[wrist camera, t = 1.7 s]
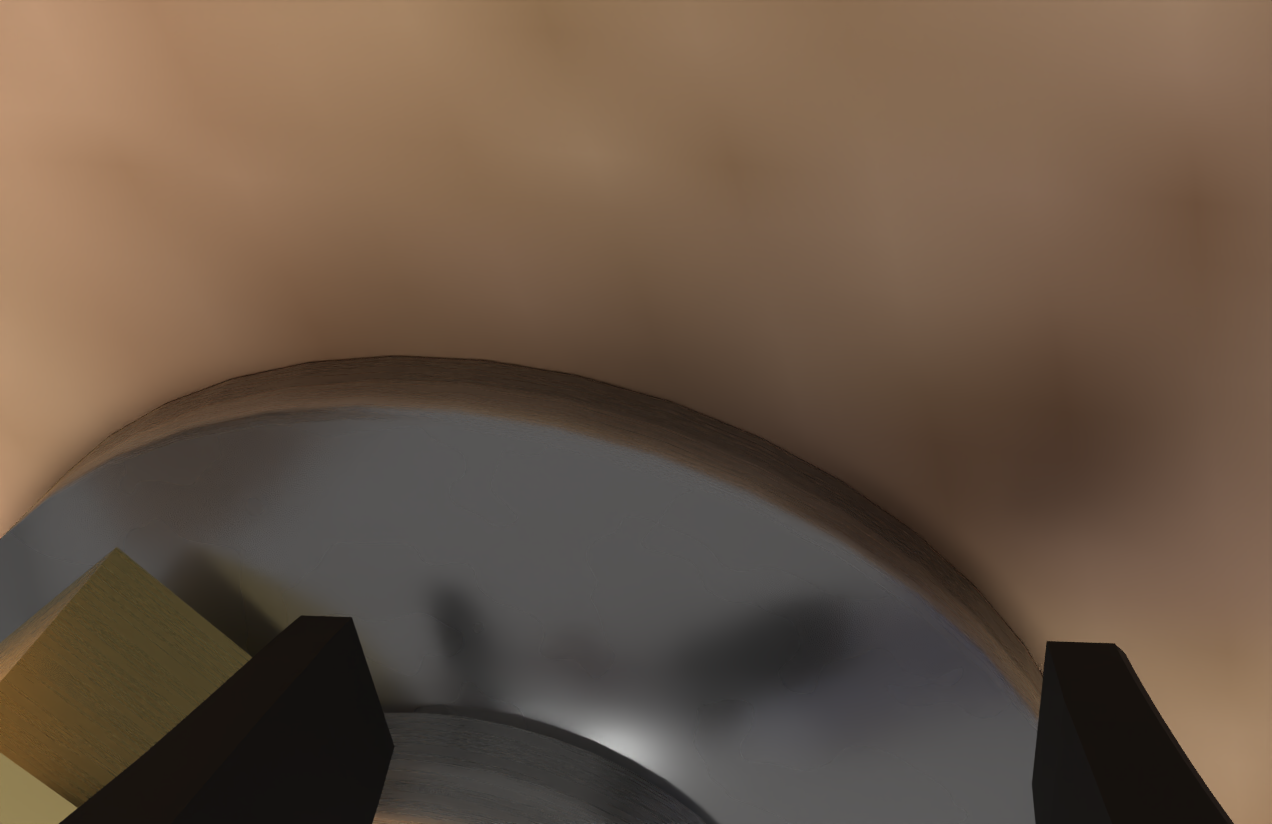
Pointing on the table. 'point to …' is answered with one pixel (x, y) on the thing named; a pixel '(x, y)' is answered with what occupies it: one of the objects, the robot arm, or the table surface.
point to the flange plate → (570, 581)
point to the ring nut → (204, 660)
